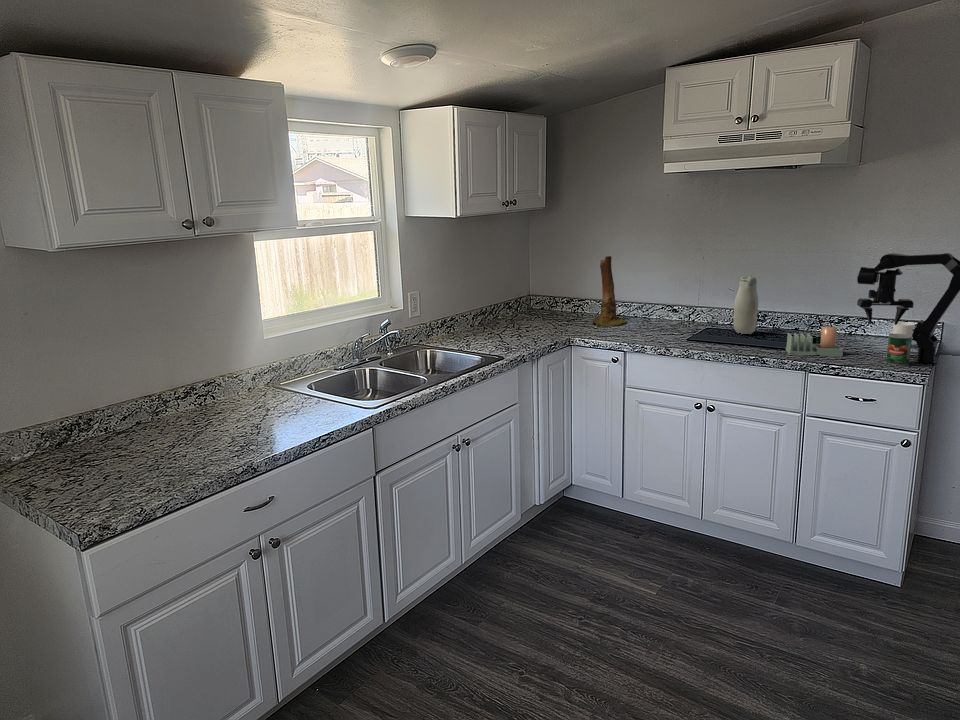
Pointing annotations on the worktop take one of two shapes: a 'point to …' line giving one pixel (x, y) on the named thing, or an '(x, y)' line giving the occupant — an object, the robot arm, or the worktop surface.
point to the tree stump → (608, 297)
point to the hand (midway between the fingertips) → (882, 324)
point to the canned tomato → (898, 349)
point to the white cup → (903, 328)
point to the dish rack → (809, 346)
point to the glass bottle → (746, 306)
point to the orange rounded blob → (828, 337)
